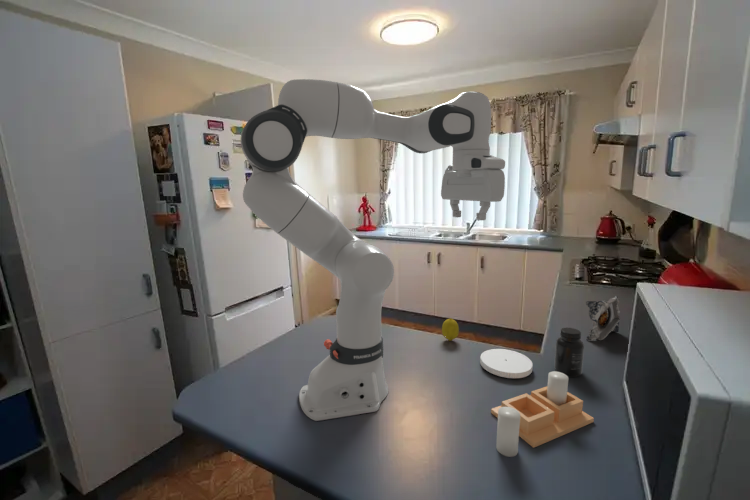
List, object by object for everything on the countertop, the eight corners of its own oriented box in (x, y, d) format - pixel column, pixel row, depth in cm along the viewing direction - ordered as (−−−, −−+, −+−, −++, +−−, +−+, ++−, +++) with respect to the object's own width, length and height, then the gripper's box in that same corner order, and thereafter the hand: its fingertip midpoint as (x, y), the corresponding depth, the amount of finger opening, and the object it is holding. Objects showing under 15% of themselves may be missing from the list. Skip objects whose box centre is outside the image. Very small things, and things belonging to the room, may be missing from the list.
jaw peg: (506, 459, 66) (509, 422, 65) (491, 445, 70) (493, 409, 68) (522, 452, 68) (524, 416, 66) (507, 439, 72) (509, 404, 70)
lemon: (458, 345, 114) (459, 322, 112) (441, 343, 115) (442, 320, 113) (458, 337, 119) (458, 315, 118) (441, 336, 120) (442, 314, 119)
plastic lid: (539, 367, 100) (540, 359, 99) (519, 388, 90) (520, 379, 89) (493, 351, 109) (494, 344, 109) (471, 368, 100) (471, 360, 99)
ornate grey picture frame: (605, 329, 124) (609, 294, 122) (618, 333, 121) (623, 297, 118) (581, 338, 117) (585, 301, 115) (594, 343, 113) (599, 305, 111)
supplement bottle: (580, 367, 99) (584, 328, 96) (583, 379, 93) (587, 337, 90) (553, 362, 102) (556, 324, 99) (554, 374, 95) (557, 333, 93)
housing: (533, 447, 69) (536, 407, 67) (490, 412, 80) (492, 376, 78) (593, 422, 76) (597, 384, 75) (546, 393, 87) (549, 359, 85)
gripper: (436, 165, 94) (434, 216, 97) (489, 159, 76) (486, 222, 79) (455, 165, 97) (453, 215, 100) (511, 160, 79) (507, 221, 81)
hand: (468, 218), depth 89 cm, fingers open, 8 cm apart
